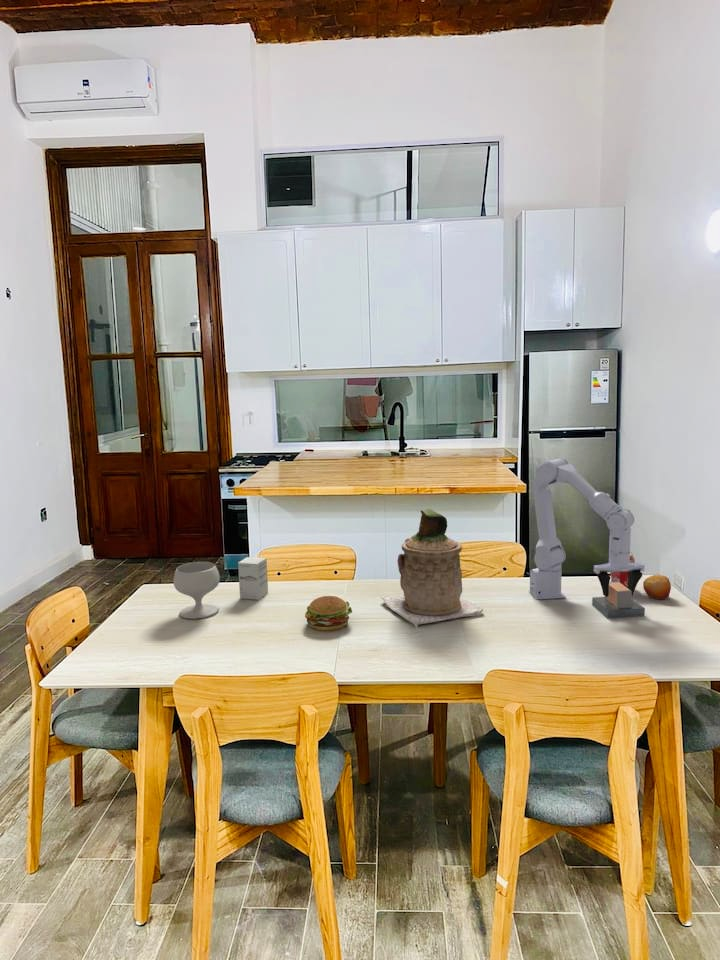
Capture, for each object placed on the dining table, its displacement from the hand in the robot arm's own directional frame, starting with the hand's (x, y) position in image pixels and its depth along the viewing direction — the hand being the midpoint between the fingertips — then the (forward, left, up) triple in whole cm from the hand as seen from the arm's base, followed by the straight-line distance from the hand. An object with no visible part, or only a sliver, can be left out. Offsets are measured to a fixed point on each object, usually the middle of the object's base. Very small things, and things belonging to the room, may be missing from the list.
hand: (618, 594), depth 195 cm
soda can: (+10, +18, -5) cm, 22 cm away
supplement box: (-111, +30, -5) cm, 115 cm away
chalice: (-127, +18, -5) cm, 128 cm away
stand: (0, 0, -5) cm, 5 cm away
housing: (0, 0, -2) cm, 2 cm away
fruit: (+17, +10, -5) cm, 20 cm away
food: (-86, +2, -5) cm, 86 cm away
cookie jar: (-55, +10, -5) cm, 56 cm away
